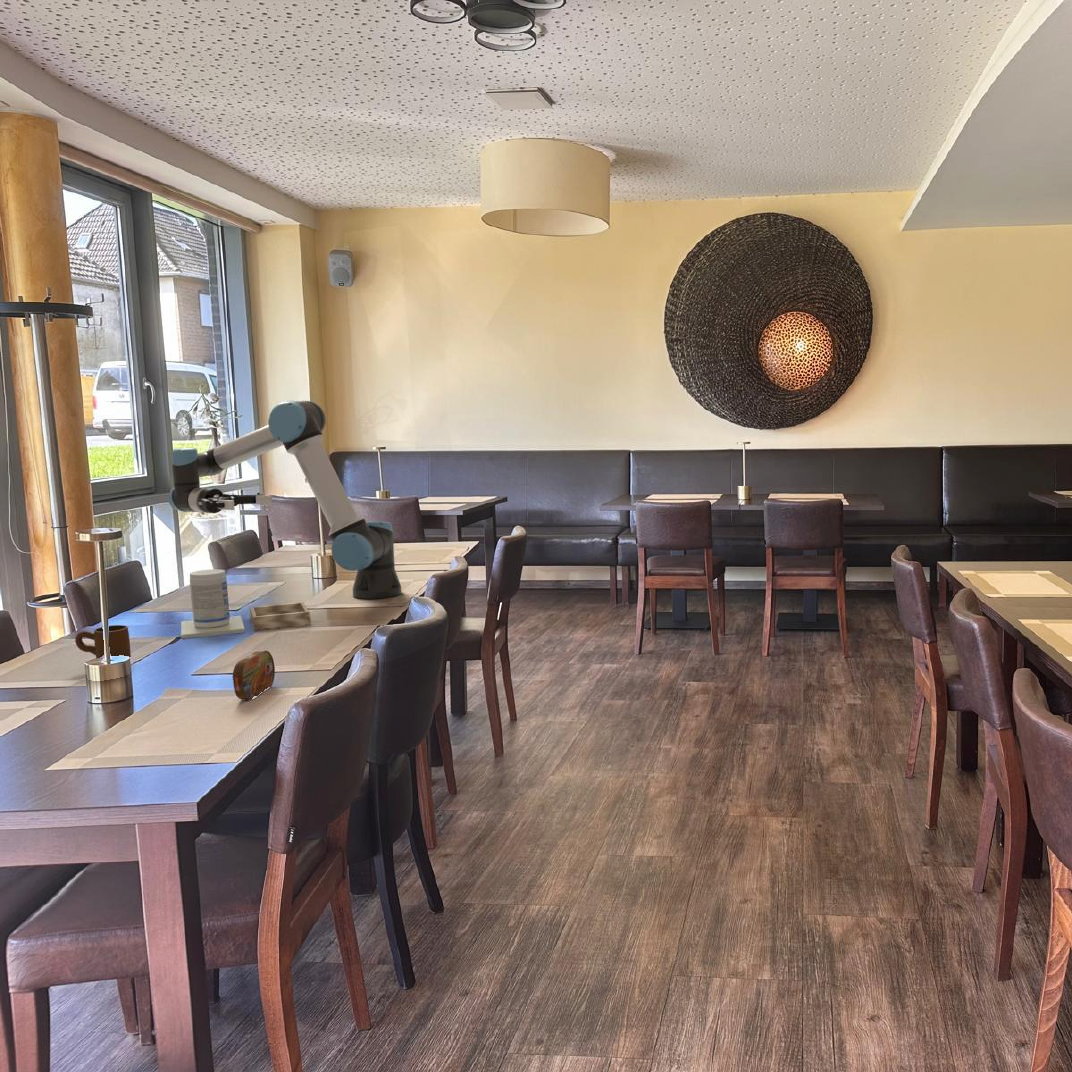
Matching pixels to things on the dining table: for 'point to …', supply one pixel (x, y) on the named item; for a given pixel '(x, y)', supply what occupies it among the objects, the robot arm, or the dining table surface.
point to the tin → (253, 674)
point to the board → (192, 631)
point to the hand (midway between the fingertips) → (252, 502)
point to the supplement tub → (209, 598)
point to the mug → (117, 641)
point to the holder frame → (279, 615)
